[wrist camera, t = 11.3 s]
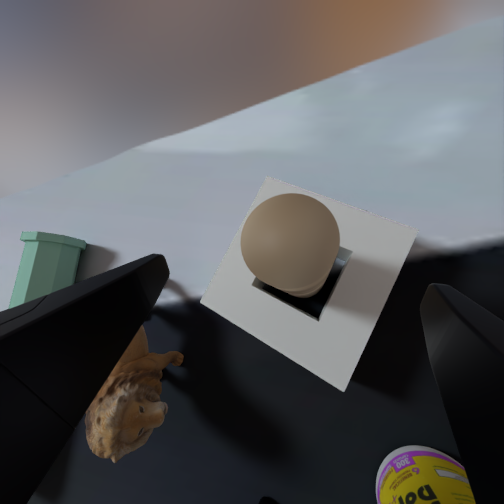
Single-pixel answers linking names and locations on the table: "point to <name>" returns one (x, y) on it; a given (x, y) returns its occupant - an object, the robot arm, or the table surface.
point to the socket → (338, 303)
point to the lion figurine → (129, 401)
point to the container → (45, 265)
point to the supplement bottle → (422, 478)
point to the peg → (291, 243)
